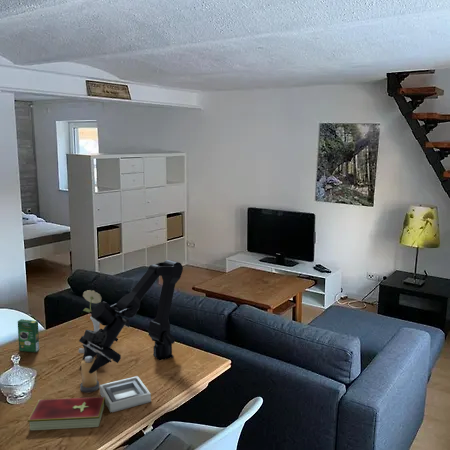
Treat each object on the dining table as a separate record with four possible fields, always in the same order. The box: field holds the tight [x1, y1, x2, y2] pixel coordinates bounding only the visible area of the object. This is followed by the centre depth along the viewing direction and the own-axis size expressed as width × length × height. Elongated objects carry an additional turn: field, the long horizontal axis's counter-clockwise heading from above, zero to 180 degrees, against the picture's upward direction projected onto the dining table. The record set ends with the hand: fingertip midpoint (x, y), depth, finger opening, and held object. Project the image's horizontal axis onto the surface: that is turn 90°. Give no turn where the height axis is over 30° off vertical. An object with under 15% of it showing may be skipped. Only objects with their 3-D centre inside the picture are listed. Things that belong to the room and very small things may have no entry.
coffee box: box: [17, 319, 40, 353], centre depth 194 cm, size 8×3×13 cm, turn 79°
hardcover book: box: [27, 396, 107, 431], centre depth 148 cm, size 12×21×4 cm, turn 96°
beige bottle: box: [79, 356, 100, 394], centre depth 165 cm, size 6×6×12 cm
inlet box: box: [99, 375, 152, 413], centre depth 160 cm, size 14×14×3 cm
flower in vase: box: [82, 289, 103, 349], centre depth 196 cm, size 13×11×25 cm
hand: (85, 370), depth 164 cm, fingers closed on beige bottle, 5 cm apart
